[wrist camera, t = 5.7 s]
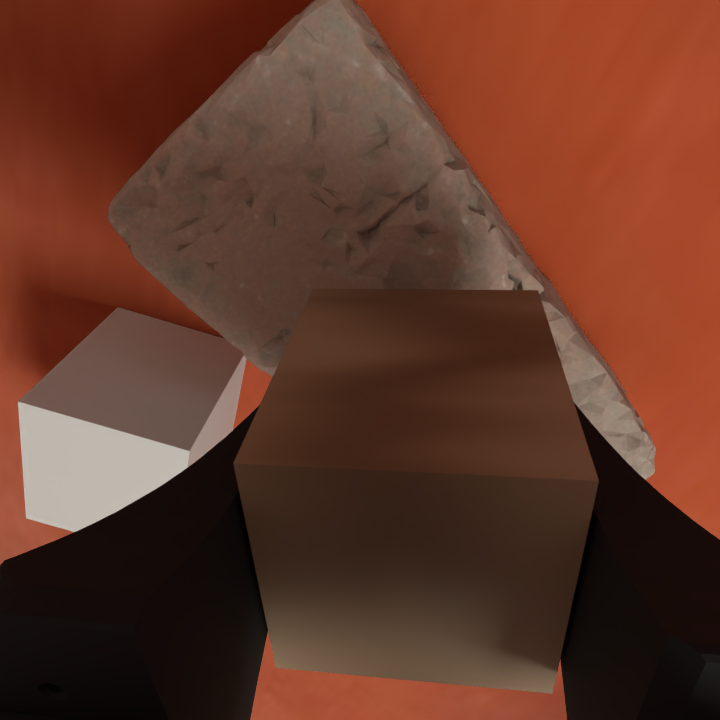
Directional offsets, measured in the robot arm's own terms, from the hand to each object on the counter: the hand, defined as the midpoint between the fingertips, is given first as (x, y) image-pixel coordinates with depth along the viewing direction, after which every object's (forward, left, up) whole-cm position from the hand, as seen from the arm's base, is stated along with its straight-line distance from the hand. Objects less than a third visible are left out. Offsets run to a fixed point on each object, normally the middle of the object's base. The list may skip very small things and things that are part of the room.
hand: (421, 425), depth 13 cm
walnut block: (0, 0, -2) cm, 2 cm away
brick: (0, +1, -8) cm, 8 cm away
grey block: (+8, +7, -8) cm, 13 cm away
